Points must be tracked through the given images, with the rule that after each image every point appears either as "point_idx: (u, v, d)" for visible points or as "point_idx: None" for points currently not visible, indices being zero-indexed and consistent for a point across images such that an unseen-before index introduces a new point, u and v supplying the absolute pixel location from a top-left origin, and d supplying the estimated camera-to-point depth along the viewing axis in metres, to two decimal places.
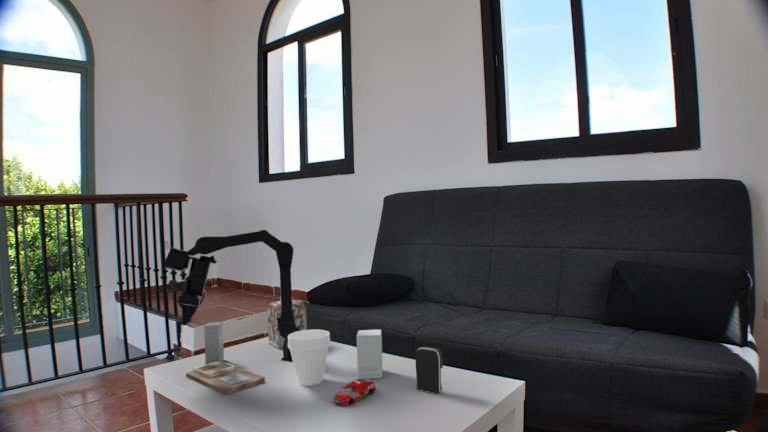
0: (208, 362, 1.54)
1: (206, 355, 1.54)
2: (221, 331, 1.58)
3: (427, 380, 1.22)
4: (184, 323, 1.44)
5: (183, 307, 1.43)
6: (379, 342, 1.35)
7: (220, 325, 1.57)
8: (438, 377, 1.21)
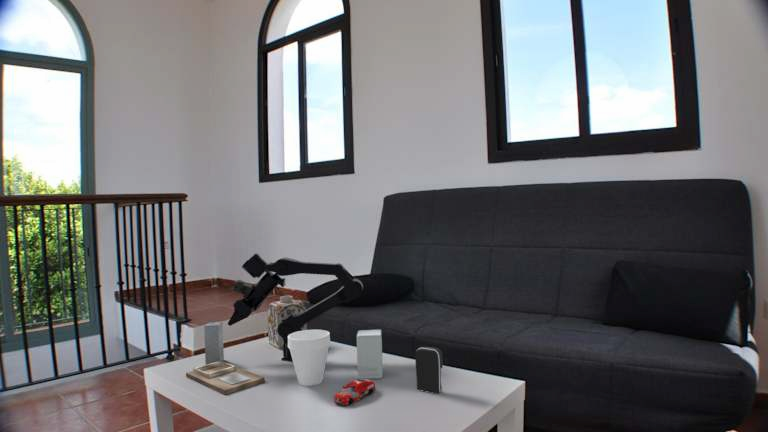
0: (208, 362, 1.54)
1: (206, 355, 1.54)
2: (221, 331, 1.58)
3: (427, 380, 1.22)
4: (229, 323, 1.52)
5: (236, 310, 1.50)
6: (379, 342, 1.35)
7: (220, 325, 1.57)
8: (438, 377, 1.21)
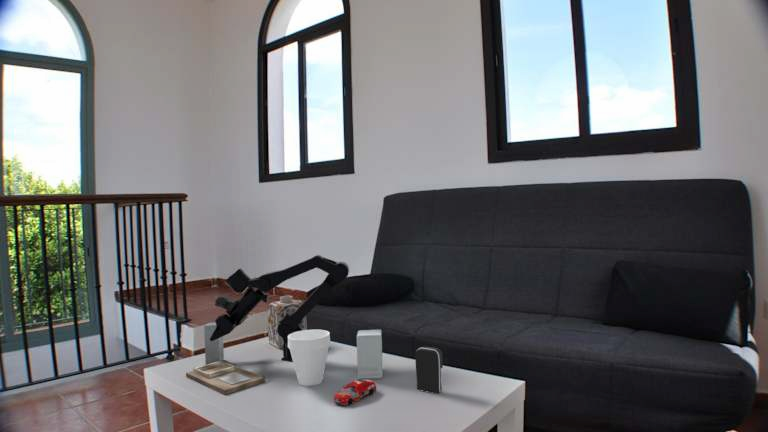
0: (208, 362, 1.54)
1: (206, 355, 1.54)
2: None
3: (427, 380, 1.22)
4: (211, 339, 1.52)
5: (218, 326, 1.50)
6: (379, 342, 1.35)
7: None
8: (438, 377, 1.21)
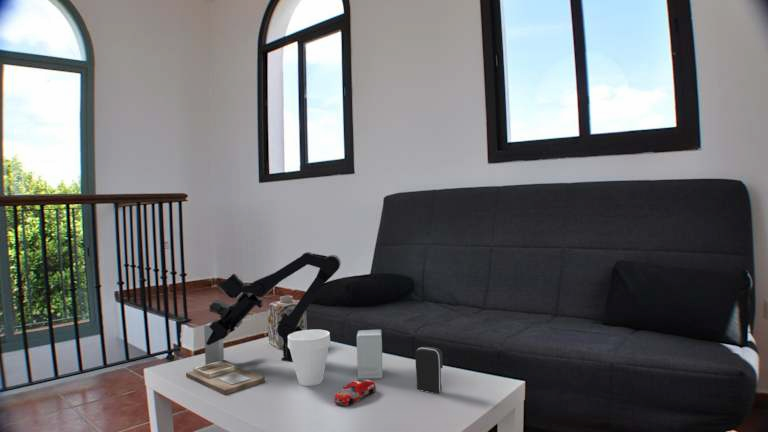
0: (208, 362, 1.54)
1: (206, 355, 1.54)
2: None
3: (427, 380, 1.22)
4: (208, 343, 1.54)
5: None
6: (379, 342, 1.35)
7: None
8: (438, 377, 1.21)
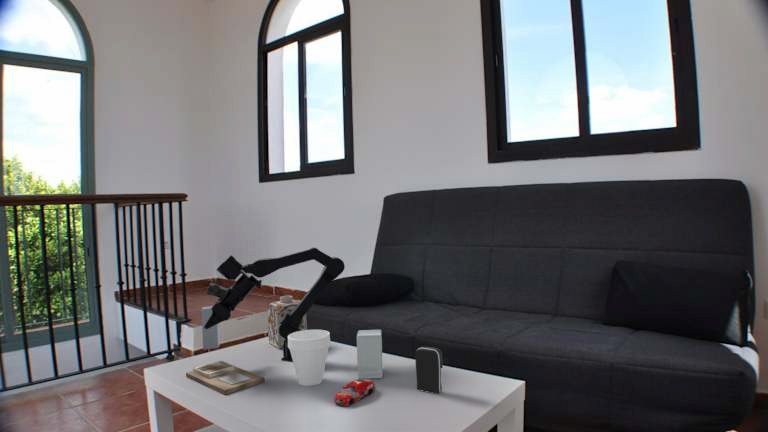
0: (206, 347, 1.49)
1: (204, 339, 1.49)
2: None
3: (427, 380, 1.22)
4: (206, 327, 1.48)
5: (214, 313, 1.48)
6: (379, 342, 1.35)
7: None
8: (438, 377, 1.21)
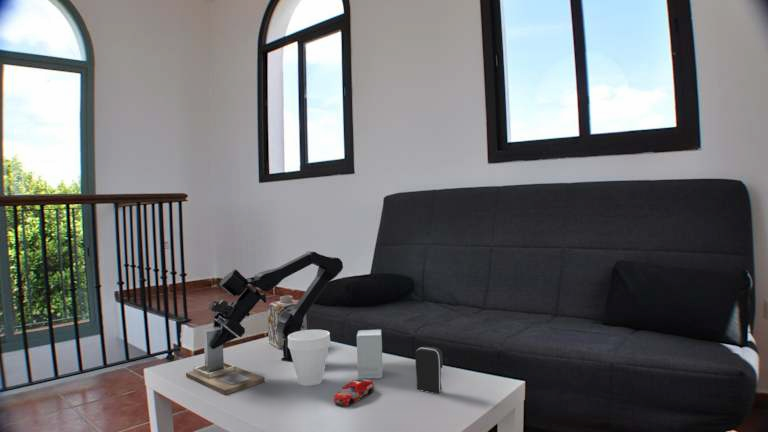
0: (211, 371, 1.40)
1: (209, 364, 1.40)
2: None
3: (427, 380, 1.22)
4: (213, 347, 1.39)
5: (223, 331, 1.39)
6: (379, 342, 1.35)
7: None
8: (438, 377, 1.21)
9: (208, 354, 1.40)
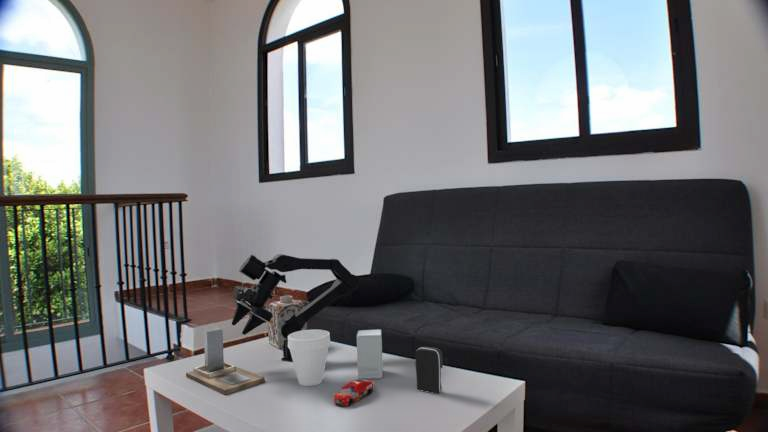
0: (211, 371, 1.40)
1: (209, 364, 1.40)
2: None
3: (427, 380, 1.22)
4: (244, 333, 1.46)
5: (253, 318, 1.45)
6: (379, 342, 1.35)
7: None
8: (438, 377, 1.21)
9: (208, 354, 1.40)
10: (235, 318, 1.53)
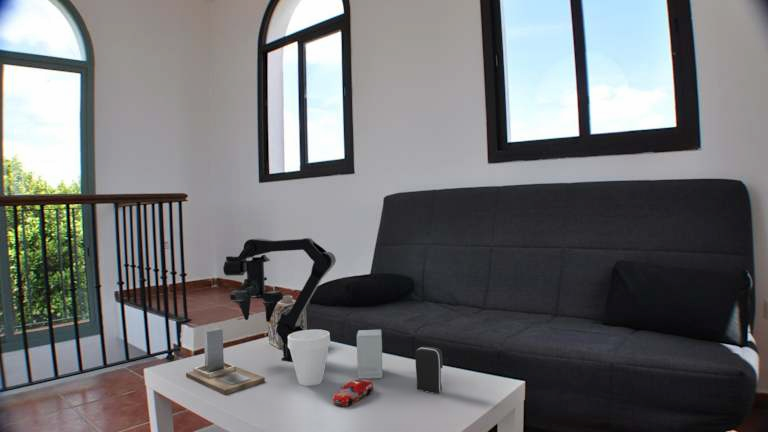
0: (211, 371, 1.40)
1: (209, 364, 1.40)
2: None
3: (427, 380, 1.22)
4: (268, 319, 1.57)
5: (269, 305, 1.55)
6: (379, 342, 1.35)
7: None
8: (438, 377, 1.21)
9: (208, 354, 1.40)
10: (245, 313, 1.60)
